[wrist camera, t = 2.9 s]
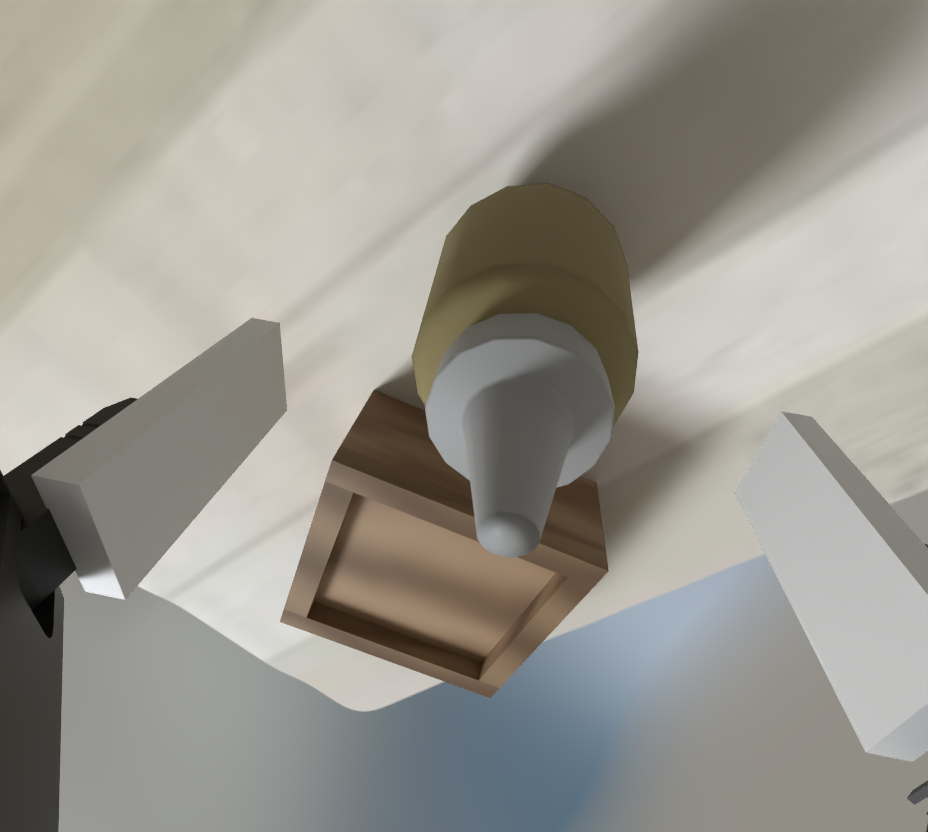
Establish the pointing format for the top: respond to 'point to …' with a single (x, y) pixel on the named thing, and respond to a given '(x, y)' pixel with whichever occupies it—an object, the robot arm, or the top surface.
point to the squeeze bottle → (525, 354)
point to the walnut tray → (433, 559)
